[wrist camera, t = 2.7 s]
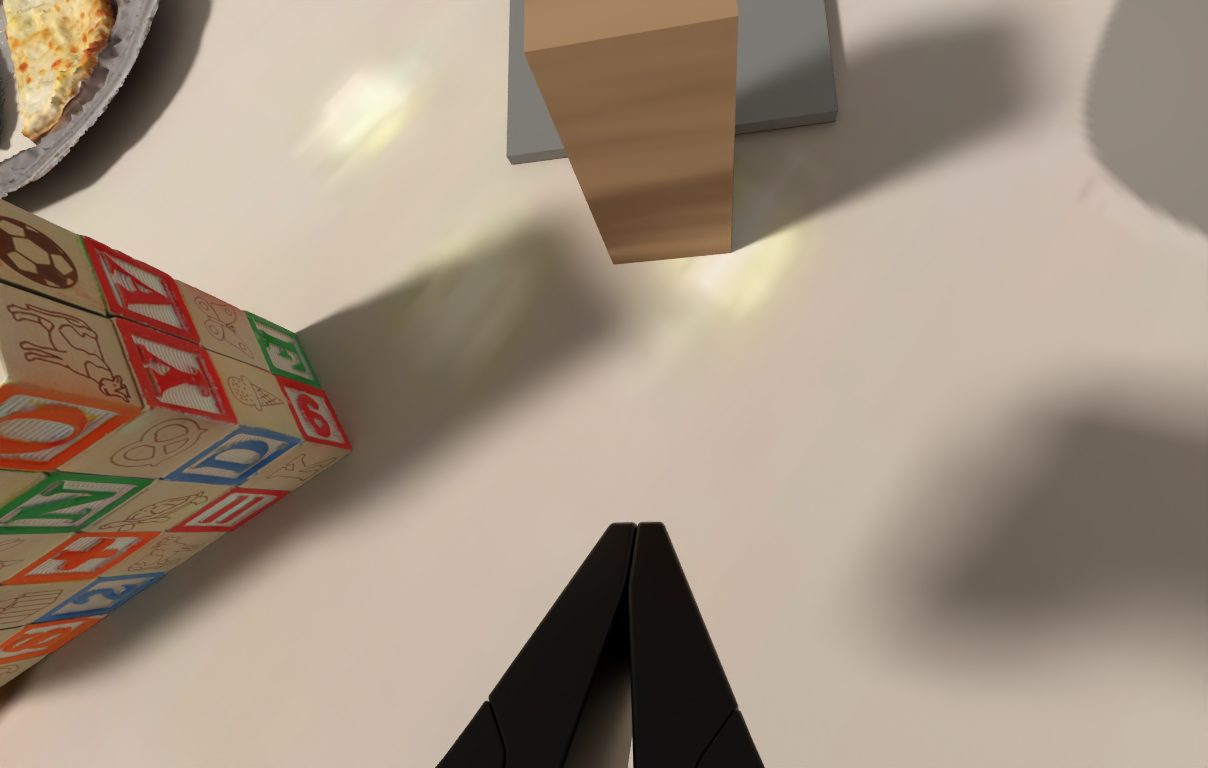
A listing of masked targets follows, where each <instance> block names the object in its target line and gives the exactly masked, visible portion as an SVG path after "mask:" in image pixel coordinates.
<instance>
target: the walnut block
mask: <svg viewBox="0 0 1208 768" xmlns="http://www.w3.org/2000/svg"><path fill="white" fill-rule="evenodd" d="M737 42H738V6H737V0H524V54H525V57H526V59H527V61H528V64H529V66H530V68H531V71H532V73H533V75H534V78H535V80H536V83H537V85H538V87H539V90H540V92H541V94H542V97H543V99H544V101H545V104H546V106H547V109H548V111H549V113H550V116H551V118H552V120H553V123H554V125H555V127H556V130H557V132H558V135H559V137H560V139H561V142H562V144H563V146H564V149H565V151H566V153H567V156H568V158H569V160H570V163H571V165H572V168H573V170H574V172H575V175H576V177H577V179H578V182H579V184H580V186H581V189H582V191H583V194H584V196H585V198H586V201H587V203H588V205H589V208H590V210H591V212H592V215H593V217H594V220H595V222H596V224H597V227H598V229H599V231H600V234H601V236H602V238H603V241H604V243H605V246H606V248H607V250H608V253H609V255H610V257H611V260H612V262H613V264H623V263H633V262H644V261H654V260H664V259H674V258H684V257H694V256H704V255H714V254H724V253H731V232H732V201H733V169H734V137H735V105H736V74H737Z"/></svg>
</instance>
